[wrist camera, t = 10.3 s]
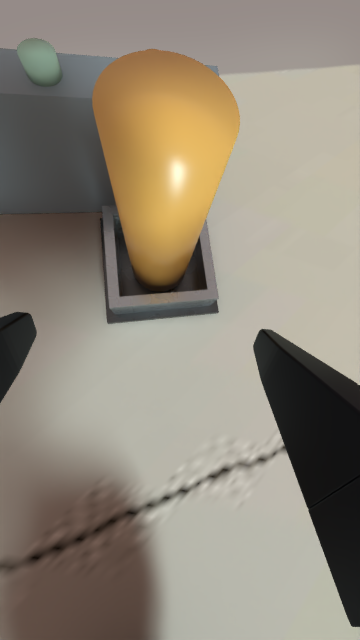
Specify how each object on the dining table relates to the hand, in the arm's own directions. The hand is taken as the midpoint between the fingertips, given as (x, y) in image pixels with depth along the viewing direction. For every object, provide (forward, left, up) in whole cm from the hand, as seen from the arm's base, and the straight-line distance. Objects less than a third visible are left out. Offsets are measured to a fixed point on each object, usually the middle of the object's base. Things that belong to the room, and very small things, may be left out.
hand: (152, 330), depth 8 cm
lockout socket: (+4, -6, -10) cm, 13 cm away
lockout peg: (+4, -6, -10) cm, 12 cm away
